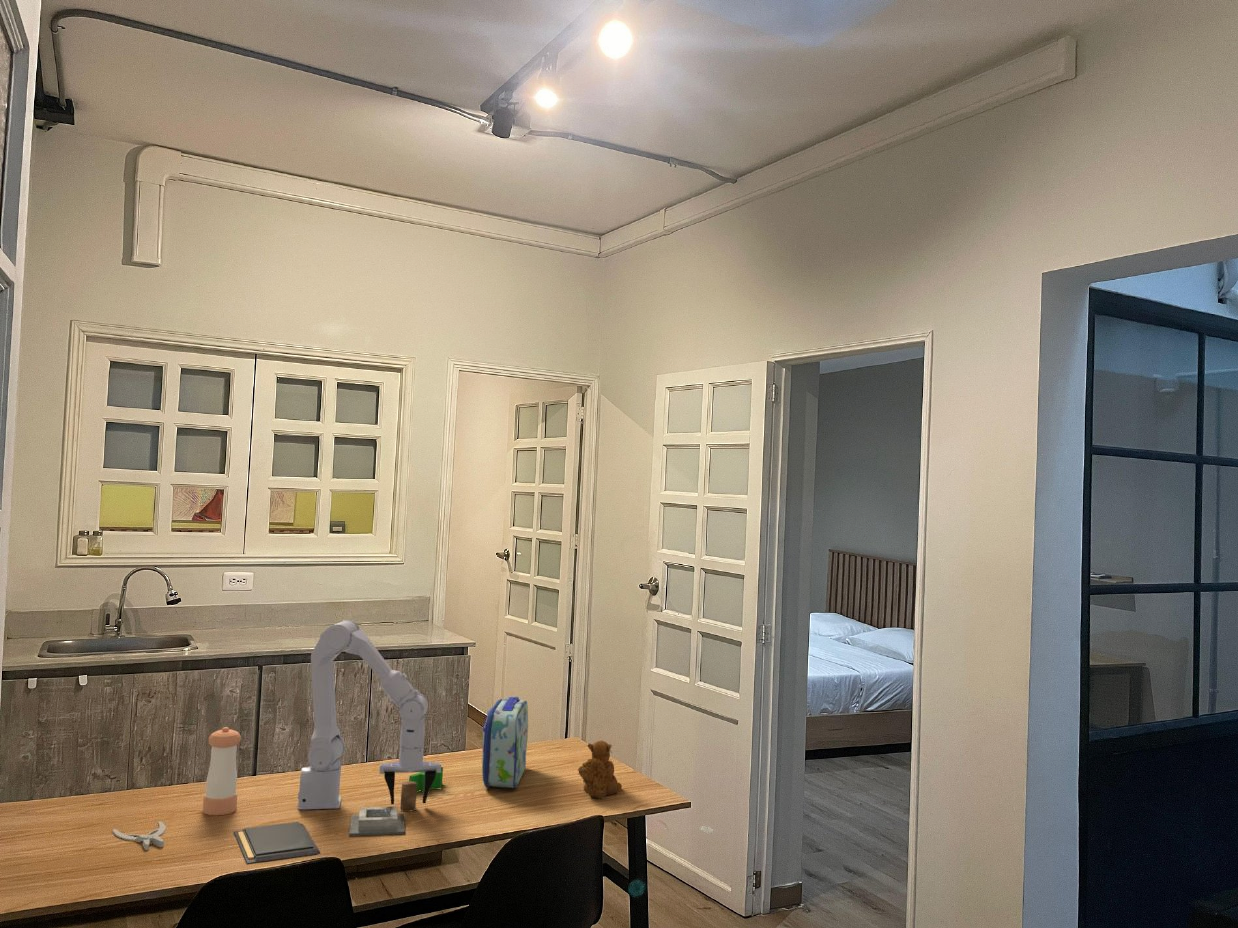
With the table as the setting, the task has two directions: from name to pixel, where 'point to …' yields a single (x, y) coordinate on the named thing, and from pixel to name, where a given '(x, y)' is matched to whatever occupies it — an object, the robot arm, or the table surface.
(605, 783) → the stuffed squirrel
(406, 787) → the cylinder
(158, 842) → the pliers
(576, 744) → the table surface
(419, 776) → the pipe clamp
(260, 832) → the grey flat slab
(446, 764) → the table surface
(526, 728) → the lunch box
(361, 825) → the mount
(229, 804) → the pepper shaker
